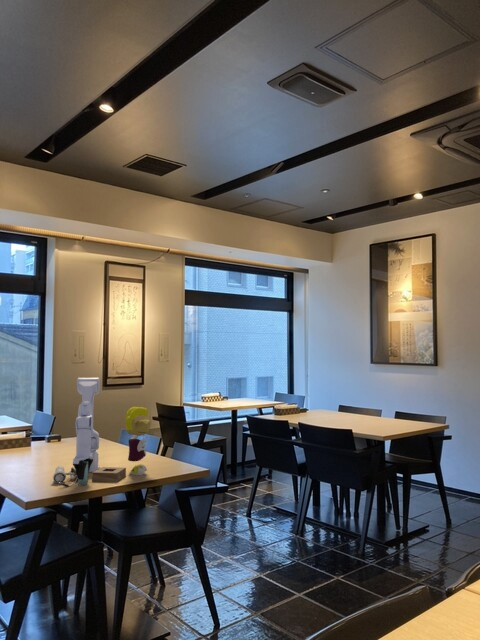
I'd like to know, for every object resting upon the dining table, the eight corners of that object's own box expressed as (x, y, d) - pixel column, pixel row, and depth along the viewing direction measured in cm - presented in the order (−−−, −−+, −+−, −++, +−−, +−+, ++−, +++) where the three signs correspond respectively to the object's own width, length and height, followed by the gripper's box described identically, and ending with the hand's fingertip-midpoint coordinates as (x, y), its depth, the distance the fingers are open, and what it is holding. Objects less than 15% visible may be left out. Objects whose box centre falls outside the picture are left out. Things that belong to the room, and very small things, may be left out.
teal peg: (80, 482, 211) (81, 461, 212) (88, 483, 211) (89, 461, 212) (76, 484, 208) (77, 462, 209) (85, 485, 207) (86, 463, 208)
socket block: (102, 474, 226) (102, 467, 226) (125, 475, 225) (125, 467, 225) (92, 480, 215) (92, 472, 216) (116, 481, 214) (116, 473, 214)
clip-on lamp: (81, 493, 207) (81, 474, 224) (83, 478, 206) (82, 460, 223) (51, 493, 203) (53, 473, 220) (53, 478, 202) (54, 459, 219)
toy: (149, 477, 222) (150, 408, 225) (122, 477, 221) (123, 408, 223) (150, 466, 244) (151, 403, 247) (125, 467, 242) (127, 404, 245)
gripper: (85, 448, 203) (84, 482, 202) (99, 442, 217) (98, 474, 216) (68, 447, 204) (67, 482, 203) (84, 442, 218) (83, 474, 217)
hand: (82, 478), depth 210 cm, fingers closed on teal peg, 4 cm apart
